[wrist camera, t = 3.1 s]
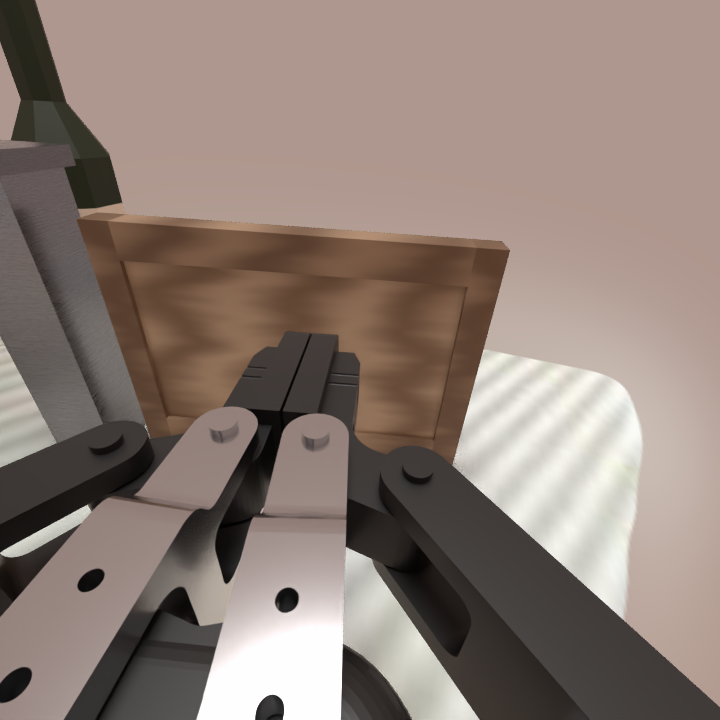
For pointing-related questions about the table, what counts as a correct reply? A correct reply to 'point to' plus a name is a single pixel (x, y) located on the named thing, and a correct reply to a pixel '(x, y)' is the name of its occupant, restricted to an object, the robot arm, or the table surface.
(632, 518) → the table surface
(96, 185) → the wine bottle
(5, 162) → the gate post
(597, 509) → the table surface
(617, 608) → the table surface
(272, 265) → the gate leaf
